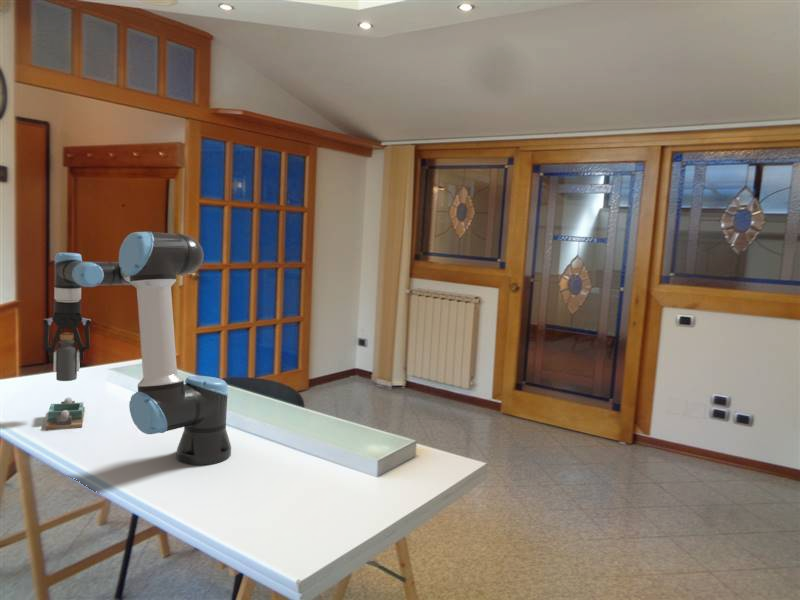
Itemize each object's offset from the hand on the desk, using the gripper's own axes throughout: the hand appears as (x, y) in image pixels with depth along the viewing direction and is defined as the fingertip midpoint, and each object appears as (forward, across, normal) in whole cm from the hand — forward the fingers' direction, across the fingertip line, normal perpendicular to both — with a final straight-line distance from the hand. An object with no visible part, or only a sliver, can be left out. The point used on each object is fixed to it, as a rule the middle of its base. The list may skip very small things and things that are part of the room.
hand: (66, 370), depth 191 cm
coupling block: (+17, 0, 0) cm, 17 cm away
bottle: (+3, 0, 0) cm, 3 cm away
